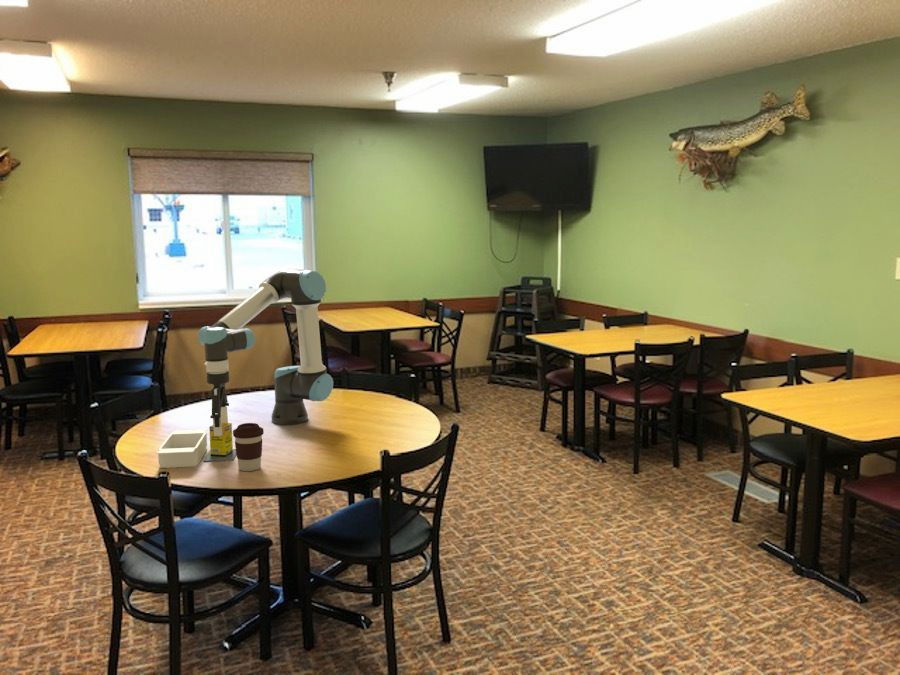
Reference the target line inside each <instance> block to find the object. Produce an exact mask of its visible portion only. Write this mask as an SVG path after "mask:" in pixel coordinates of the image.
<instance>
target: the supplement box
mask: <svg viewBox="0 0 900 675" xmlns="http://www.w3.org/2000/svg"><path fill="white" fill-rule="evenodd" d="M209 445H210V446H209V450H210V454H211V456H219V457H226V456H227V455H229V454H230V453H232V452H233V449H234V448H233V423H232V422H228V423H222V436H214V428H213V424H212V425H211V426H209Z"/></svg>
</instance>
